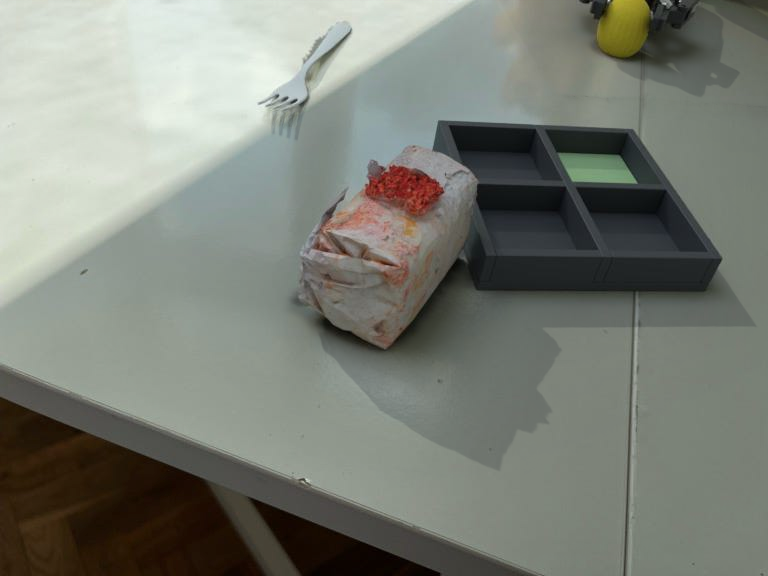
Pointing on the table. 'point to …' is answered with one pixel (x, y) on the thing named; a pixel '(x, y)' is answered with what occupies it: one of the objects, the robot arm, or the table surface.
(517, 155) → the dark grey compartment tray
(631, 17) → the lemon
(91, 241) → the table surface
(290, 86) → the fork
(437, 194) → the food item
